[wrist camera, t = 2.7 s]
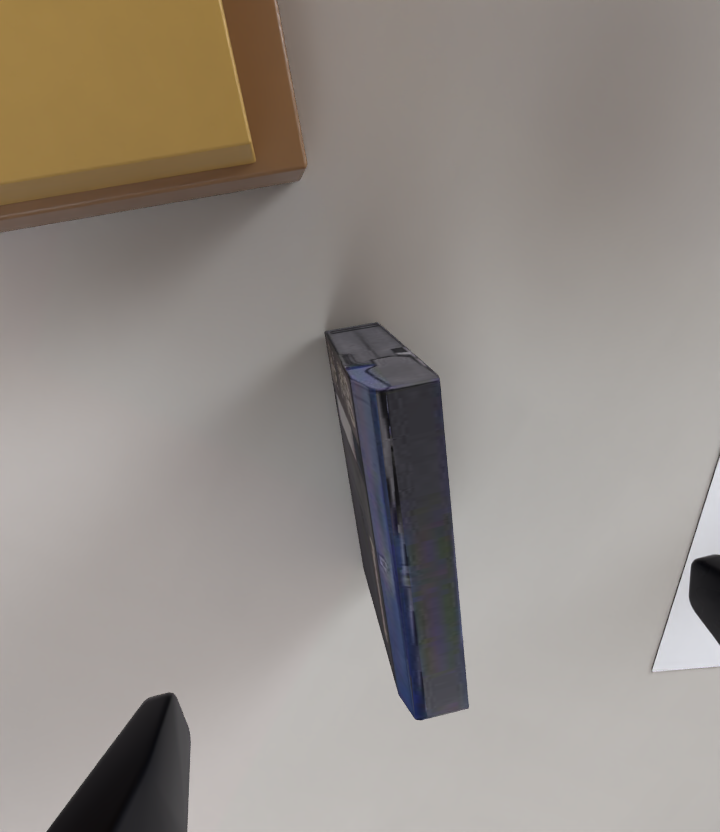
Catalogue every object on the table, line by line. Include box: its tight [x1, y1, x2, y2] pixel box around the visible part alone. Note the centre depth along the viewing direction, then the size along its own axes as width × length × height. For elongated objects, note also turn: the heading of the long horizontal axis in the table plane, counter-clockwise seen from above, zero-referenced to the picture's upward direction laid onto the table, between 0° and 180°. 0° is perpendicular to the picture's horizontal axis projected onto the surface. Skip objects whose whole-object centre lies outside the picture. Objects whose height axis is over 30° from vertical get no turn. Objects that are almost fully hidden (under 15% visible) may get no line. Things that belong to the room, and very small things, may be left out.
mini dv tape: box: [325, 322, 469, 720], centre depth 13 cm, size 8×2×6 cm, turn 8°
